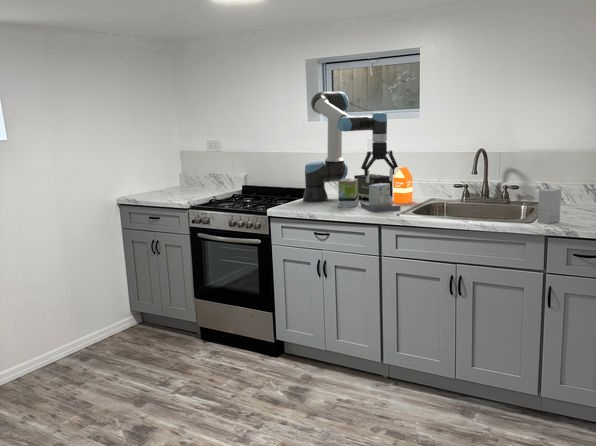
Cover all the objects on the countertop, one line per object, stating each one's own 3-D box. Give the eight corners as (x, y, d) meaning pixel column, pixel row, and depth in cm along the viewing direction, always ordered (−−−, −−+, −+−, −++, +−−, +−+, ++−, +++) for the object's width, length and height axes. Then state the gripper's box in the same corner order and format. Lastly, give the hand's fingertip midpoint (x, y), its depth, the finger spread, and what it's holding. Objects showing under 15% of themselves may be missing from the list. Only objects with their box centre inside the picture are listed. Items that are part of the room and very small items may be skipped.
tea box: (355, 207, 309) (355, 180, 306) (338, 207, 311) (337, 181, 308) (358, 203, 323) (358, 177, 321) (341, 203, 325) (340, 178, 323)
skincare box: (548, 220, 252) (550, 187, 250) (560, 222, 247) (562, 189, 244) (536, 222, 248) (538, 189, 245) (548, 224, 243) (550, 190, 240)
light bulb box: (380, 202, 306) (380, 182, 304) (390, 203, 302) (390, 183, 300) (368, 204, 299) (368, 184, 297) (379, 205, 294) (378, 185, 292)
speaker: (354, 198, 342) (354, 174, 339) (371, 196, 348) (371, 172, 345) (375, 202, 323) (375, 176, 320) (392, 200, 329) (392, 175, 326)
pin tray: (360, 207, 308) (360, 193, 307) (385, 205, 312) (385, 192, 310) (374, 212, 290) (373, 198, 288) (400, 210, 293) (400, 196, 292)
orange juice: (412, 201, 322) (412, 167, 318) (405, 203, 315) (405, 168, 312) (400, 200, 327) (400, 166, 323) (393, 202, 320) (392, 168, 316)
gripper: (360, 143, 287) (360, 183, 292) (404, 141, 293) (403, 181, 298) (355, 142, 295) (355, 182, 299) (398, 140, 301) (397, 179, 305)
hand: (379, 181), depth 298 cm, fingers open, 13 cm apart
